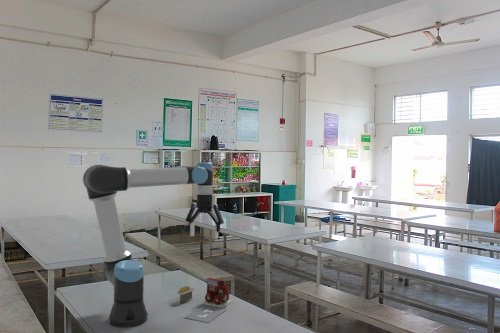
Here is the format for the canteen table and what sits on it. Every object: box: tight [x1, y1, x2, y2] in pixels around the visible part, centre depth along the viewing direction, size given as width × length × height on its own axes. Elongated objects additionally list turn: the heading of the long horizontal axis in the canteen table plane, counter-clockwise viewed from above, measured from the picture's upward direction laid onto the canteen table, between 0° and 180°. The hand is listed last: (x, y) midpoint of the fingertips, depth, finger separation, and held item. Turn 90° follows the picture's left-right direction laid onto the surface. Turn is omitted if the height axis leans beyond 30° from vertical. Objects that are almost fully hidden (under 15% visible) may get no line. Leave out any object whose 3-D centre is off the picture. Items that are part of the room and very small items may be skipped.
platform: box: [176, 285, 196, 303], centre depth 192 cm, size 12×18×7 cm, turn 147°
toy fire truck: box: [204, 277, 230, 305], centre depth 190 cm, size 7×12×10 cm, turn 57°
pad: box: [202, 299, 233, 309], centre depth 190 cm, size 10×10×1 cm
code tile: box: [183, 304, 227, 324], centre depth 176 cm, size 16×12×1 cm
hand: (204, 237), depth 199 cm, fingers open, 13 cm apart
